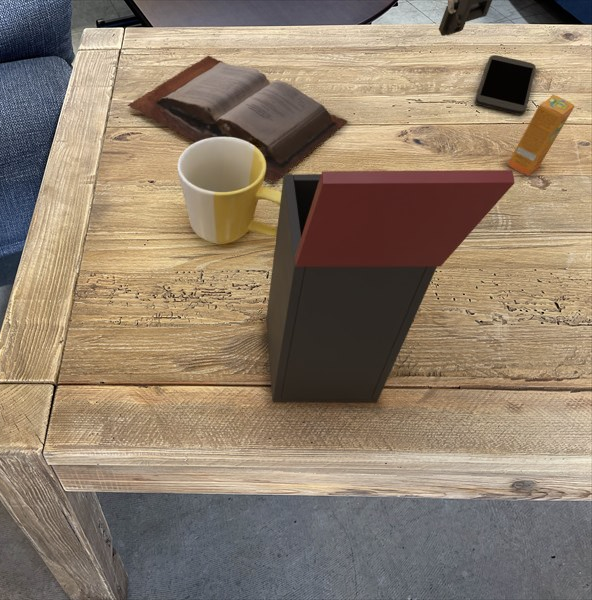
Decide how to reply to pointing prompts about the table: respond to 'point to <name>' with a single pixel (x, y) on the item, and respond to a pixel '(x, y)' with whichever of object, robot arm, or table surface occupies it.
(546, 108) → the supplement box
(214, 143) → the mug
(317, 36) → the table surface
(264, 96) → the book
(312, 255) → the red lid
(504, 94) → the smartphone
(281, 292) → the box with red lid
